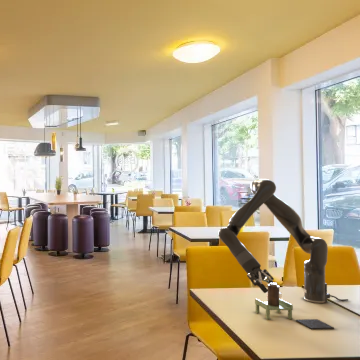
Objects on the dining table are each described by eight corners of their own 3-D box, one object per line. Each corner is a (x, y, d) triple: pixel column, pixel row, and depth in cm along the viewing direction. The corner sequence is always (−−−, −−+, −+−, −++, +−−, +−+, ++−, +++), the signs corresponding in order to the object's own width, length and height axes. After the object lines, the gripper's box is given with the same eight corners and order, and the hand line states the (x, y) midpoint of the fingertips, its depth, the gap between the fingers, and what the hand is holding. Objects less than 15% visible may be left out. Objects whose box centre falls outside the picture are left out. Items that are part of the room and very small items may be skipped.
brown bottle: (275, 303, 183) (275, 282, 183) (281, 306, 178) (281, 284, 178) (265, 303, 182) (265, 282, 183) (271, 306, 178) (271, 284, 178)
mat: (317, 320, 174) (317, 319, 174) (334, 329, 164) (334, 327, 164) (295, 320, 173) (295, 319, 173) (311, 329, 163) (311, 327, 163)
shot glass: (283, 308, 191) (283, 294, 191) (268, 307, 192) (268, 293, 192) (279, 304, 197) (279, 290, 197) (264, 303, 199) (264, 289, 199)
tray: (279, 311, 185) (279, 298, 185) (292, 319, 175) (292, 304, 176) (254, 312, 185) (254, 298, 185) (267, 319, 175) (267, 305, 175)
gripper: (244, 259, 184) (269, 288, 175) (261, 256, 192) (285, 284, 183) (234, 268, 189) (257, 297, 179) (250, 264, 197) (273, 292, 187)
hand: (271, 290), depth 181 cm, fingers open, 8 cm apart
